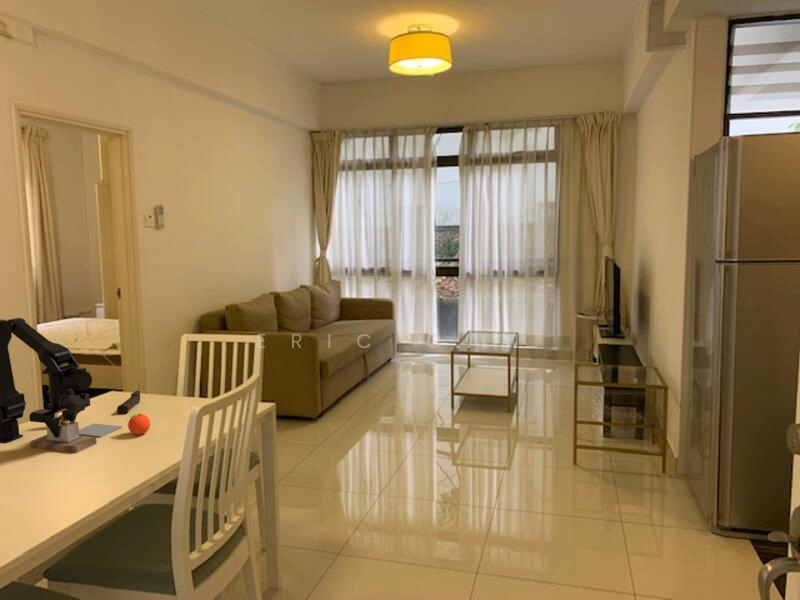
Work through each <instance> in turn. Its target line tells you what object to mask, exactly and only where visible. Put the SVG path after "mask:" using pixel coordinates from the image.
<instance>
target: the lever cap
mask: <svg viewBox="0 0 800 600" xmlns="http://www.w3.org/2000/svg"><path fill="white" fill-rule="evenodd" d="M45 425H46V424H45ZM46 435H47V439H48V440H55V441H64V442H69V441H71V440H74V439H76V438H78V437H79V436H80V435H79V421H74V422H73V421H70V420H62V419H60V421H59V437H58V438H55V437H54V435H53V434H52V432H51V431H50V429H49V428H48V426H47V425H46Z"/></svg>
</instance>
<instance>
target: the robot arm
mask: <svg viewBox="0 0 800 600" xmlns="http://www.w3.org/2000/svg"><path fill="white" fill-rule="evenodd" d="M12 336H15V337H16V338H17V339H19V340H20V341H22V342H23V343H24V344H25V345H27V346H28V347H29V348H30V349H32V350H33V351H34V352H35V353H36V354H37V357H38V360H39V361H40V362H41V363H42V364H43V366H45V369H44V370H42V371H41V373H42V374H43V375H47V381H48V391H45V395H46V396H49V403H47V404H46V406H47V407H46V409H43V408H40V409H36V410H34V411H31V412H30V414H29V415H28V416H29V417H28V418H29V422H33V423H43V424H45V425H47V426H48V428H49V429H50V431H51V432H52V434H53V435H54V437H55V438H58V437H59V421H60V419H61V418H60V417H59V415H58V414H60V413H61V415H63V418H64V420H70V421H73V422H75V421H76V420H75V418H76V419H77V416H78V414H79V413H80V412H83V411H85V409H86V408H88V407H90V406H91V398H90V394H89V393H86V392H85V393H82V394H77V395H76V394H75V391H74V390H79V391H86V390H88V389H89V388H90V387H91V385H92V382H93V376H92V375H91V373H90V372H88V371H87V368H86V367H80V364H79V363H78V361H77V360H76V359H75V357H74V356H73V355H72V352H71V351H70V349H69V348H68V347H66V346H64V345H62V344H60V343H56V342H53V341H50V340H49V339H47V338H46V337H45V336H44V335H43V334H42V333H40V332H39V331H37V329H34V327H33V326H31V325H30V324H28V323H27V321H26V320H25V319H24V318H21V317H15V318H11V319H10V318H9V319H7V320H6V319H0V443H5V444H6V443H9V442H11V441H14V440H16V439H19V438H22V437H24V434H20V427H19V421H18V419H22V418H23V416H24V412H25V410H26V405H27V403H26V401H25V394H24V393H23V392H22V393H20V392H19V391H18V390H17V388H16V383H15V380H14V379H15V378H14V374H13V369H12V363H11V357H10V356H11V355H10V352H9V351H10V350H9V344H10V343H11V340H12V338H13V337H12ZM76 415H77V416H76ZM74 420H75V421H74Z"/></svg>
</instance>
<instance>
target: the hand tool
mask: <svg viewBox="0 0 800 600" xmlns="http://www.w3.org/2000/svg"><path fill="white" fill-rule="evenodd" d="M140 401H141V391H140V390H136V391H134V392H132V393H131V394H130V397H129V398H128V399H126V400H125V401H123V403H121V404H120V405H118V406H117V408H116V412H117V414H118V415H127V414H128V413H129V412H130V410H131V409H132V408H134V407H135V406H136V405H138V404H140Z"/></svg>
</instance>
